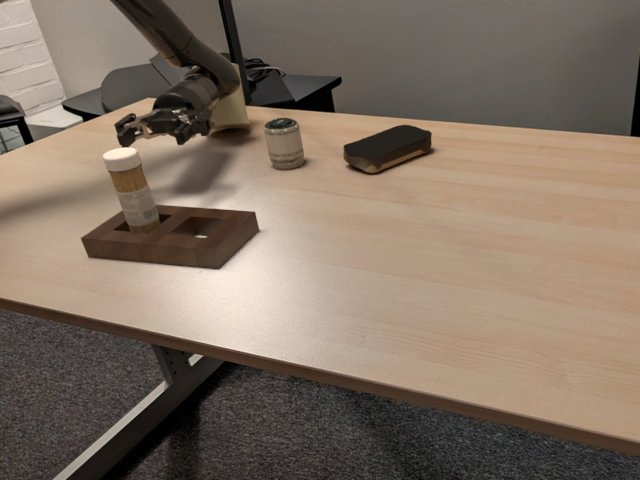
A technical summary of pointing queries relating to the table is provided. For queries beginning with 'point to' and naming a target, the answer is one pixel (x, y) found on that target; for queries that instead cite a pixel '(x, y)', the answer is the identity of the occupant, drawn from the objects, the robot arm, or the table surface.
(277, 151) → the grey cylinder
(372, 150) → the black sponge
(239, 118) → the can
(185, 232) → the socket block
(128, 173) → the sprinkles bottle
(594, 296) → the table surface
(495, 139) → the table surface
